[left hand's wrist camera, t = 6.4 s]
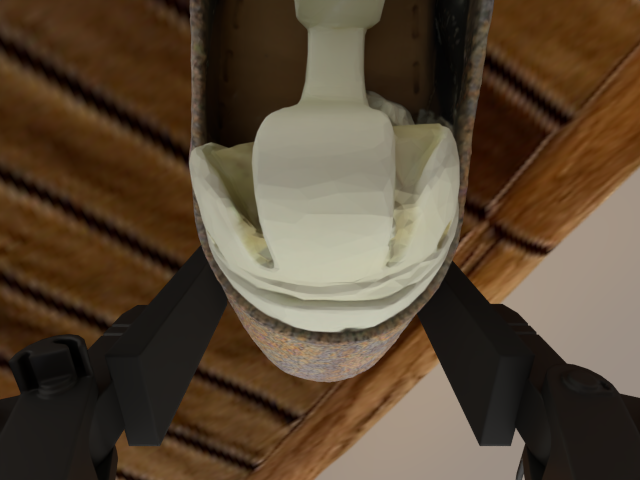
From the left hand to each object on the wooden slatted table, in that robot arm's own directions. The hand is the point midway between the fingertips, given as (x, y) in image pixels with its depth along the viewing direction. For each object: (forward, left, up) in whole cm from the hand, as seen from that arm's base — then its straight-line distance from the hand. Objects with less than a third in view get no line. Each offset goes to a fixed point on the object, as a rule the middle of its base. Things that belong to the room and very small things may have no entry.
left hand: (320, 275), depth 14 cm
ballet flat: (-4, +7, 0) cm, 8 cm away
